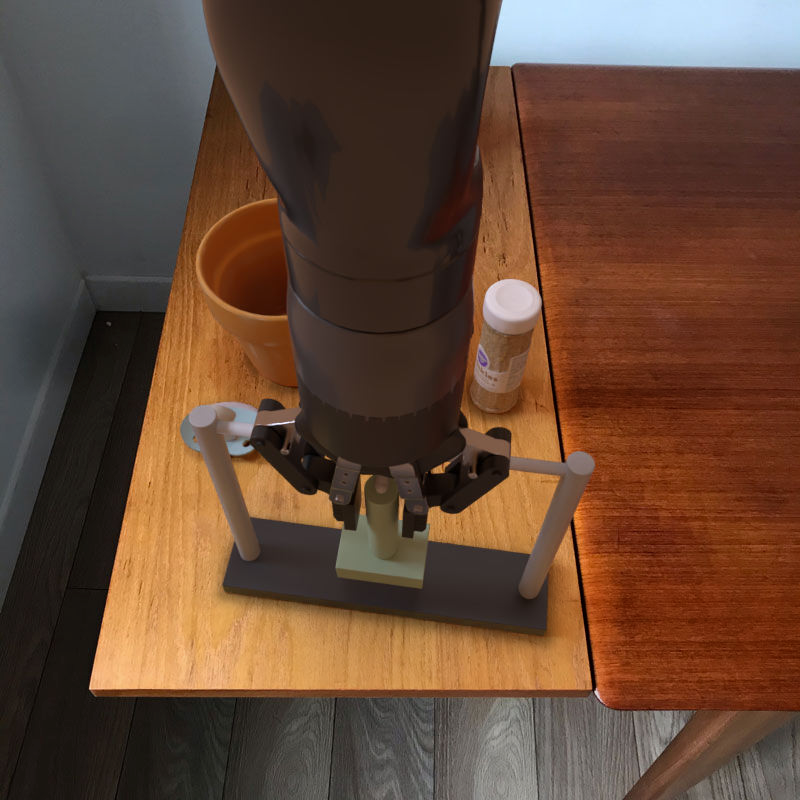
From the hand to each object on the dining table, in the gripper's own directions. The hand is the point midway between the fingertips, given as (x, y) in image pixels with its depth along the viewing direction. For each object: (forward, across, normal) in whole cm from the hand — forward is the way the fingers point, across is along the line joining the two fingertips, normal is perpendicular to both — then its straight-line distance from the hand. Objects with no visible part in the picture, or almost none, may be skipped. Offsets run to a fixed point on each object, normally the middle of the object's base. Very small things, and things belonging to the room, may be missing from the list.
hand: (381, 519), depth 47 cm
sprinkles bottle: (+16, +7, +22) cm, 28 cm away
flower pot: (+16, -12, +24) cm, 32 cm away
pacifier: (+16, -16, +14) cm, 27 cm away
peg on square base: (+10, 0, +3) cm, 10 cm away
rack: (+16, 0, +3) cm, 16 cm away
